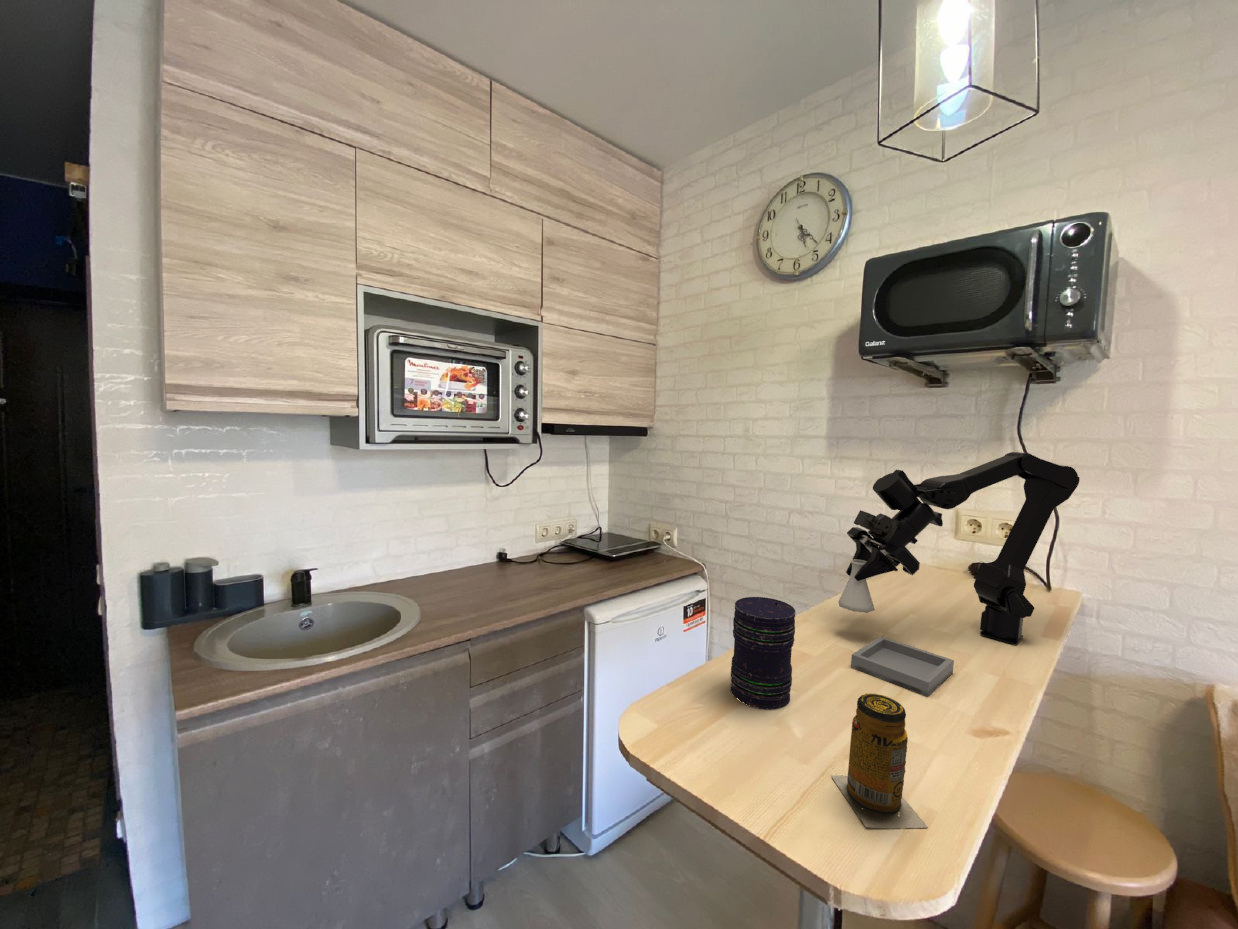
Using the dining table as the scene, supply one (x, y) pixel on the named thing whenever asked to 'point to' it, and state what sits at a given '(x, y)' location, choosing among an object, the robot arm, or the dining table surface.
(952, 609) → the dining table surface
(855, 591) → the flask
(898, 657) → the tray
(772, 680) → the storage jar
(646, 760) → the dining table surface
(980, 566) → the robot arm
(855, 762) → the condiment
